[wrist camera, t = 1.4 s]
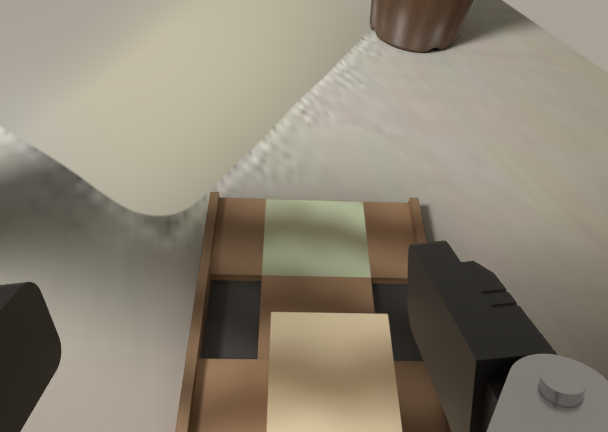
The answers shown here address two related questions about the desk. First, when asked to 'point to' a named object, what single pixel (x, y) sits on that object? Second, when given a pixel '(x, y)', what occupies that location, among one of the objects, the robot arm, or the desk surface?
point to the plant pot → (418, 22)
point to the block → (331, 373)
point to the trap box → (296, 300)
